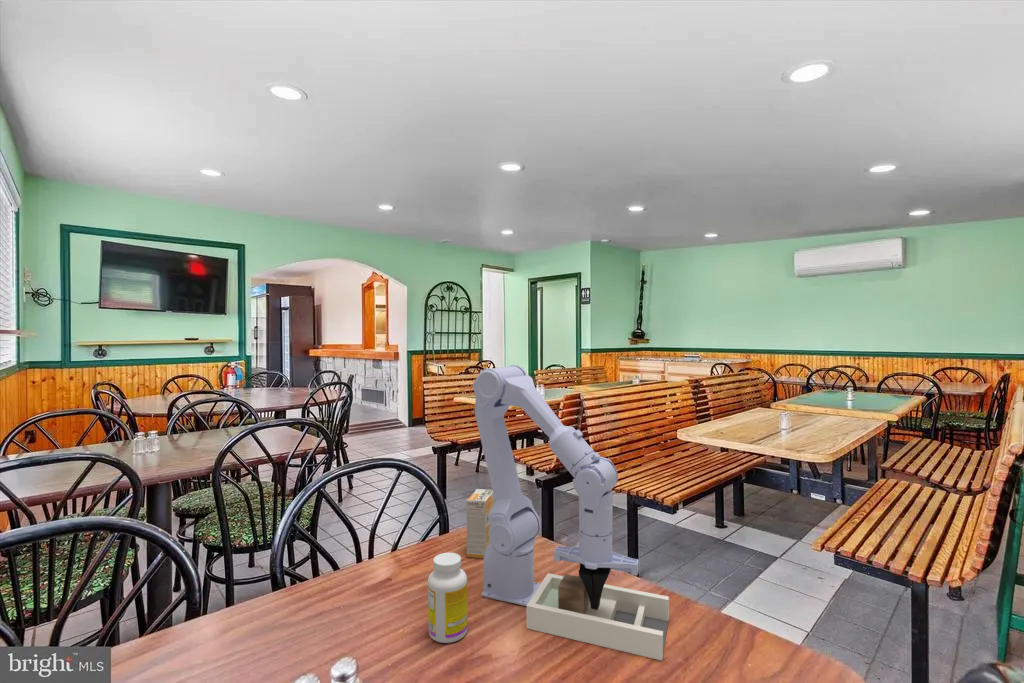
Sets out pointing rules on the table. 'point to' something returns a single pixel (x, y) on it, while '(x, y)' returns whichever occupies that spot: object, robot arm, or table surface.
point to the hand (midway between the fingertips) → (595, 606)
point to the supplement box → (478, 522)
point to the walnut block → (572, 594)
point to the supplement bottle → (447, 599)
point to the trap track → (604, 619)
